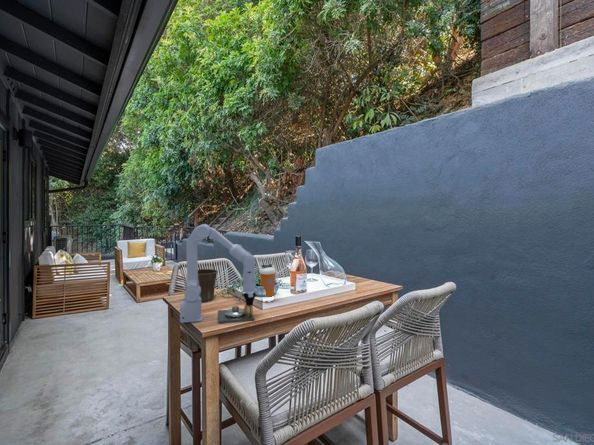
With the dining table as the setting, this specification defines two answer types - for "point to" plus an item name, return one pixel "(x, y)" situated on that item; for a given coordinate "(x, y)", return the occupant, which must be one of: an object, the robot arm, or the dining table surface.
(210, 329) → the dining table surface
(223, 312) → the base plate
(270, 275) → the glass of beer
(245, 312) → the flange
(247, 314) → the dowel
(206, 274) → the plant pot
